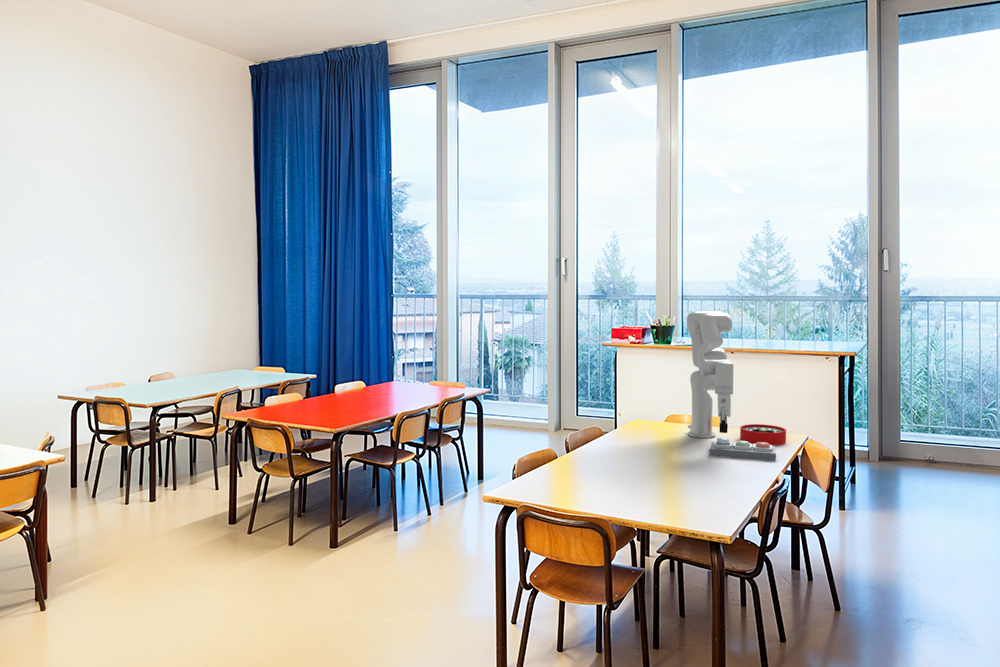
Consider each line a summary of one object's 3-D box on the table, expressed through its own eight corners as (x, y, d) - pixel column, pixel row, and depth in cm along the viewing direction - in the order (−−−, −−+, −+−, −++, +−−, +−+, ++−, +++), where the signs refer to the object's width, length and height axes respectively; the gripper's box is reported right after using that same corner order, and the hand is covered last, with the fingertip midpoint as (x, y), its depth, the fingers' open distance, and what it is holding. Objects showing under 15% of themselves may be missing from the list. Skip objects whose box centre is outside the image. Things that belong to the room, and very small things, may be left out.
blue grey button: (716, 444, 292) (716, 439, 291) (717, 441, 296) (717, 437, 296) (728, 444, 290) (729, 440, 290) (729, 442, 294) (729, 437, 294)
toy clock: (747, 432, 308) (735, 424, 328) (746, 445, 308) (735, 436, 328) (792, 433, 306) (777, 424, 326) (792, 446, 307) (777, 436, 326)
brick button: (756, 448, 286) (756, 444, 286) (756, 446, 291) (756, 441, 291) (769, 449, 284) (769, 445, 284) (768, 447, 289) (769, 442, 289)
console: (709, 455, 289) (709, 445, 288) (711, 448, 302) (711, 439, 301) (775, 460, 279) (775, 450, 279) (774, 453, 292) (774, 443, 292)
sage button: (736, 447, 289) (736, 442, 289) (736, 444, 294) (736, 440, 293) (748, 448, 287) (748, 443, 287) (748, 445, 292) (749, 441, 292)
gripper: (732, 392, 283) (732, 436, 284) (733, 388, 297) (733, 429, 298) (713, 392, 286) (713, 435, 287) (715, 387, 300) (715, 428, 301)
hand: (723, 432), depth 292 cm, fingers closed
